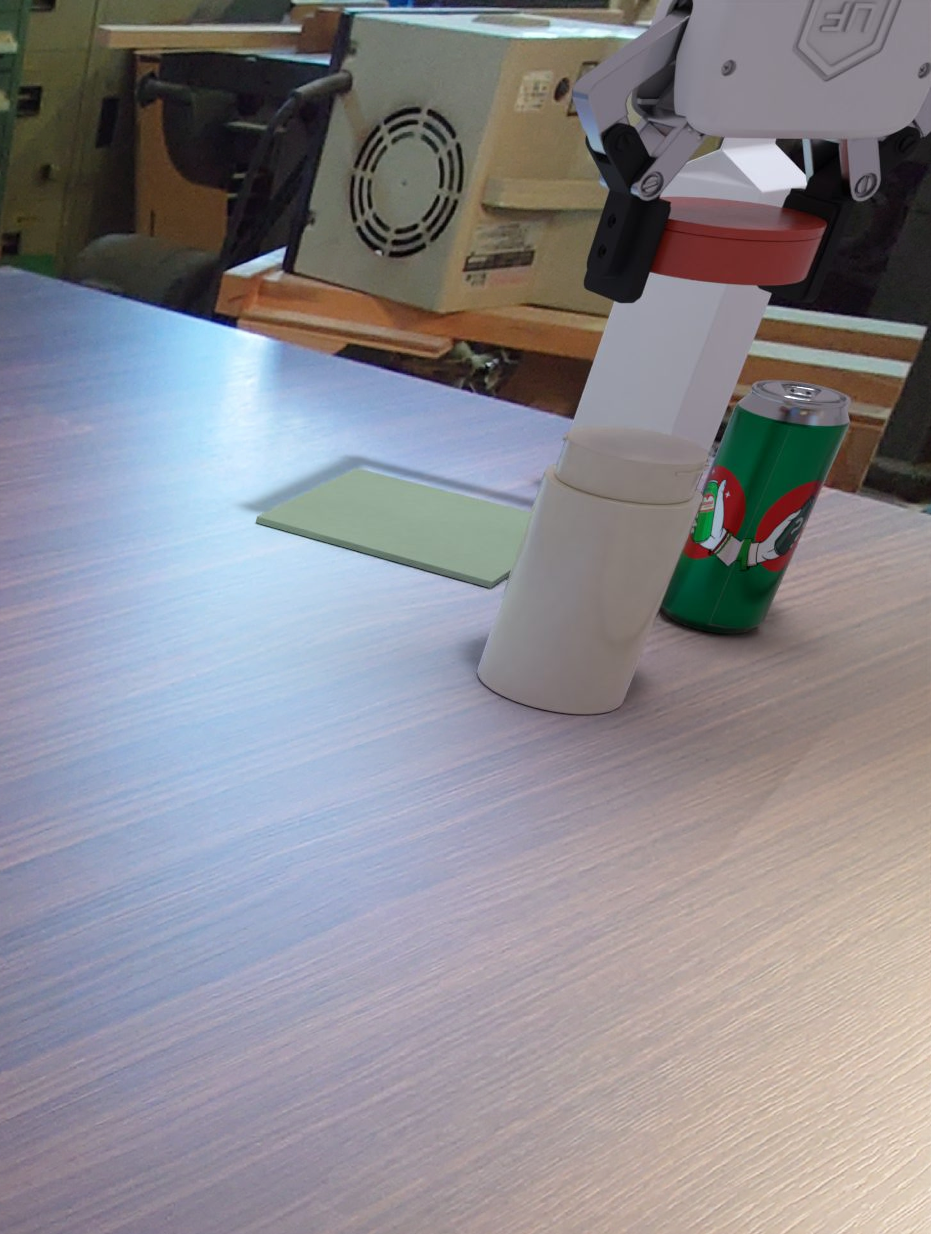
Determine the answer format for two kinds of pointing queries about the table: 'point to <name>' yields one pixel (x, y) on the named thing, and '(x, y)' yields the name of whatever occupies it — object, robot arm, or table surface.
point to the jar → (593, 568)
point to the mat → (408, 525)
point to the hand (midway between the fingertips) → (697, 293)
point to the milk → (688, 316)
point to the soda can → (756, 504)
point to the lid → (737, 242)
